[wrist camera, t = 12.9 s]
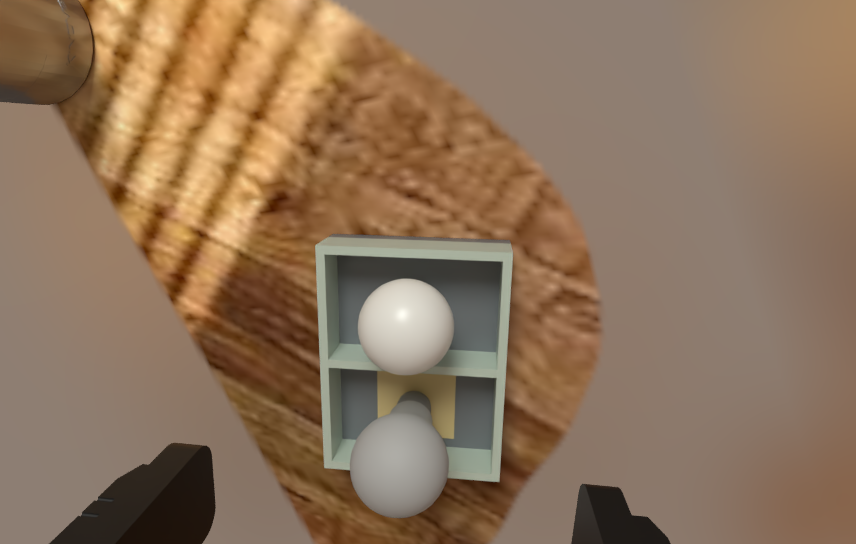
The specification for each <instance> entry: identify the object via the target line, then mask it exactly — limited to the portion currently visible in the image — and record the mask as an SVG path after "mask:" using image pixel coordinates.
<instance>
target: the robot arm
mask: <svg viewBox="0 0 856 544" xmlns="http://www.w3.org/2000/svg"><path fill="white" fill-rule="evenodd" d="M92 54H93V44H92V34H91V30H90V26H89V22H88V19H87V17H86V14H85V12H84V10H83V7H82V6H81V4H80V3H79V1H78V0H0V102H11V103H25V104H39V105H40V104H41V105H50V104H54V103H58V102H61V101H63V100H65V99H67V98H69V97H71V96H72V95H73V94H74V93H75V92H76V91H77V90H78V89H79V88H80V87H81V85H82V84H83V82H84V81H85V79H86V78H87V75H88V72H89V69H90V67H91V61H92ZM214 514H215V493H214V479H213V465H212V454H211V450H210V448H209V447H207V446H202V445H192V444H182V443H171V444H170V445H168V446H167V447H166V448H165V449H164V450H163V451H162V452H161V453H160V454H159V455H158V456H157V457H156V458H155V459H154V460H153V461H152V462H151V463H150V464H149V465H145V464H142V465H141V466H139V467H137V468H135V469H134V470H132V471H130V472H128V473H127V474H125V475H123V476H121V477H120V478H118V479H117V480H115V482H113V483H112V484H111V485H110V486H109V487H108V488H107V489H106V490H105V491H104V492H103V493H102V494H101V495H100V496H99V497H98V500H97V501H94V502H93V503H91V504H90V505H89V506H88V507H87V508H86V509H85V510H84V511H83V512H82V515H81V516H78V517H77V518H76V519H75V520H74V521H73V522H71V523H70V524H69V525H68V526H67V527H66V528H65V529H64V530H63V531H62V532H61V533H60V534H59V535H58V536H57V537H56V538H55V539H54V540H53V541H52V542H51V543H50V544H202V543H203V541H204V540H205V538H206V537H207V535H208V533H209V531H210V529H211V526H212V523H213V519H214ZM572 544H670V541H669V540H668V538H667V537H666V536H665V534H664V533H663V532H662V531H661V530H660V529H658V527H657V526H656V525H655V524H654V523H653V522H652V521H651V520H650V519H649V518H648V517H643V516H632V515H631V513H630V510H629V508H628V505H627V503H626V500H625V498H624V495H623V493H622V491H621V489H620V488H618V487H610V486H599V485H589V484H582V485H581V486H580V490H579V495H578V501H577V509H576V515H575V523H574V529H573V536H572Z"/></svg>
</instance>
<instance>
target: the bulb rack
mask: <svg viewBox="0 0 856 544" xmlns="http://www.w3.org/2000/svg"><path fill="white" fill-rule="evenodd" d="M315 250H316V275H317V300H318V324H319V349H320V374H321V399H322V424H323V449H324V468H331V469H344V470H350V458H351V452H352V449H353V447H354V444H355V442H356V440H357V438H358V436H359V435H360V433H361V432H362V431H363V430H364V429H365V428H366V427H367V426H368V425H369V424H370V423H371V422H372V421H374V420H376V419H378V418H379V417H382V416H385V415H388V414H390V412H391V410H392V409H393V408H394V407H395V406H396V405H397V403H398V401H399V399H400V397H401V396H402V395H403V394H404V393H406V392H409V391H419V392H421V393H423V394H425V395H426V396H427V397H428V399H429V401H430V403H431V416H432V425H433V426H434V428H435V429H436V430H437V431H438V433H439V434H440V435H441V437H442V439H443V441H444V443H445V445H446V449H447V453H448V457H449V472H448V477H447V478H455V479H467V480H479V481H492V482H499V479H500V462H501V446H502V429H503V412H504V395H505V379H506V362H507V345H508V329H509V312H510V295H511V279H512V262H513V251H512V247H511V243H510V240H488V239H460V238H432V237H404V236H376V235H348V234H332V235H331V236H329V237H328V238H326V239H324V240H323V241H321V242H320V243H318V244H317V245H315Z"/></svg>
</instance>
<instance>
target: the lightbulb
mask: <svg viewBox="0 0 856 544" xmlns="http://www.w3.org/2000/svg"><path fill="white" fill-rule="evenodd" d="M448 472H449V457H448V453H447V449H446V445H445V443H444V441H443V439H442V437H441V435H440V434H439V433H438V431H437V430H436V429H435V428H434V426H433V425H432V416H431V403H430V401H429V399H428V397H427V396H426V395H425V394H423V393H421V392H419V391H409V392H406V393H404V394H403V395H402V396H401V397H400V399H399V401H398V403H397V405H396V406H395V407H394V408H393V409H392V410H391V412H390V414H388V415H385V416H382V417H379V418H378V419H376V420H374V421H372V422H371V423H370V424H369V425H368V426H367V427H366V428H365V429H364V430H363V431H362V432H361V433H360V435H359V436H358V438H357V440H356V442H355V444H354V447H353V449H352V452H351V458H350V475H351V480H352V484H353V487H354V489H355V491H356V493H357V494H358V496H359V497H360V499H361V500H362V501H363V503H364V504H365V505H367V506H368V507H369V508H370V509H371V510H373V511H375V512H376V513H378V514H381V515H383V516H387V517H391V518H406V517H411V516H414V515H416V514H419V513H420V512H422V511H424V510H426V509H427V508H429V507H430V506H431V505H432V504H433V503H434V502H435V500H436V499H437V498H438V497H439V495H440V494H441V492H442V490H443V488H444V486H445V484H446V481H447V477H448Z"/></svg>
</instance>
